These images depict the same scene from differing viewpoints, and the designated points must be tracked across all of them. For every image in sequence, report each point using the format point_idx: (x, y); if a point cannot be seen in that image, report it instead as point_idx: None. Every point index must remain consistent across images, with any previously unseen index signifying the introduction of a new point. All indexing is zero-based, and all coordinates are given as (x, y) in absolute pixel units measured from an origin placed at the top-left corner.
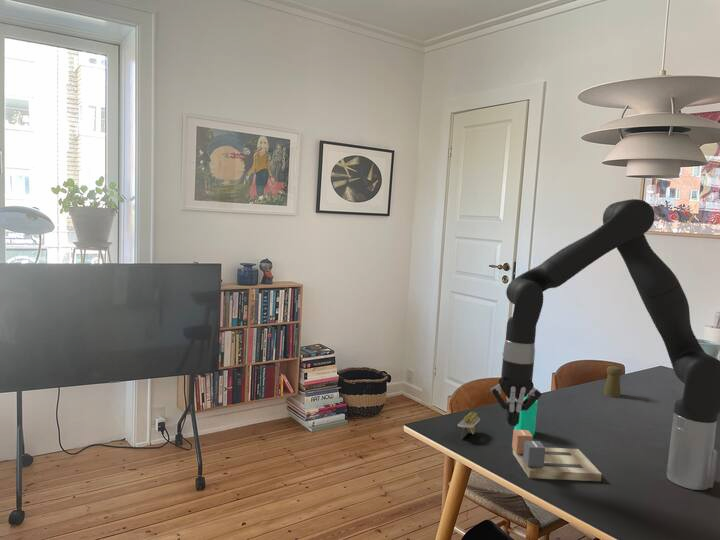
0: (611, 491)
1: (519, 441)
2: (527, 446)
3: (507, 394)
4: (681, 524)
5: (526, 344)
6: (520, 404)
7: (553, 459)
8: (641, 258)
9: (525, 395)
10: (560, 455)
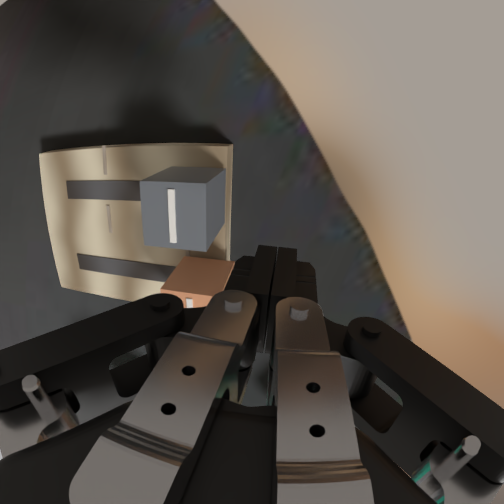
0: (49, 103)
1: (217, 283)
2: (208, 207)
3: (372, 448)
4: (9, 16)
5: None
6: (205, 337)
7: (125, 228)
8: None
9: (116, 411)
10: (102, 254)
